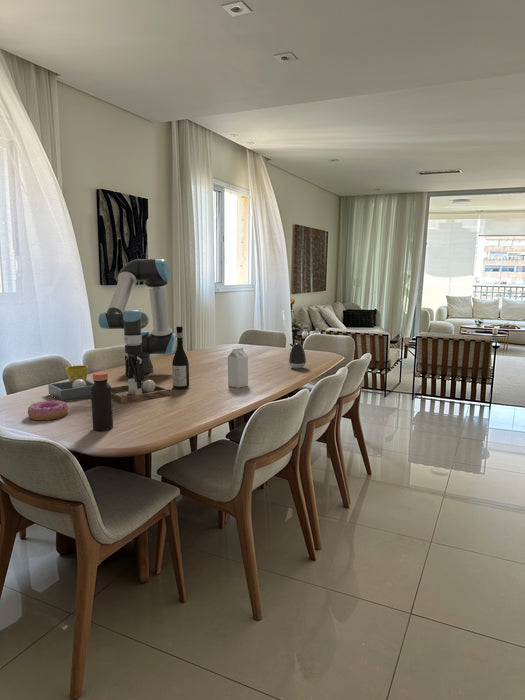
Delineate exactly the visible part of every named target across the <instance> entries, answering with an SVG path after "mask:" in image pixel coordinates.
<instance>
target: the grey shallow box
mask: <svg viewBox="0 0 525 700" xmlns="http://www.w3.org/2000/svg"><path fill="white" fill-rule="evenodd" d="M82 380H84V381H85V383H86V387H79V388H73V387H72V384H73V382H74V381H69V380H68V381H62V382H60V381H59V382H53V383H48V384H47V385H48V386H47V387H48V395H49V394H50V395H51V397H52V396H53V397H52V398H54V397H55V398H54V399H56V400H57V399H58V400H57V401H63V402H69V401H75V400H81V399H82V398H83V399H88V397H89V398H91V387H92V386H93V385H94V381H91V380H89V379H87V378H86V379H82ZM50 395H49V396H50Z"/></svg>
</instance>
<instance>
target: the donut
mask: <svg viewBox="0 0 525 700" xmlns="http://www.w3.org/2000/svg"><path fill="white" fill-rule="evenodd" d="M68 412H69V406H68V404H67V402H66V401H64V402H63V401H59V400H57V399H56V400H52V399H51V400H44V401H39V402H35V403H32V404H30V405H29V406H28V408H27V415H28V418H29V419H30V420H34V421H41V422H42V421H51V420H52V421H53V420H57V419H61V418H63V417H65V416H67V415H68Z"/></svg>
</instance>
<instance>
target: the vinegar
mask: <svg viewBox="0 0 525 700" xmlns="http://www.w3.org/2000/svg"><path fill="white" fill-rule="evenodd" d="M108 379H109V375H108V372H105V371H98V372H94V373H92V380H93V382H94V385H93V386H92V387H91V397H90V399H91V414H92V416H91V417H92V429H93V430H94V431H95V432H105V431H109V430H112V429H113V427H114V417H113V415H114V414H113V400H112V395H111V387H112V386H111V385H110V384H109V383H108V381H109V380H108Z"/></svg>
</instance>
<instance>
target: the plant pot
mask: <svg viewBox="0 0 525 700" xmlns="http://www.w3.org/2000/svg"><path fill="white" fill-rule="evenodd" d="M88 373H89V366H88V365H83V364H81V365H69V366H67V367H65V375H66V376H67V377H68V381H75V380H77V379H86V380H87V377H88Z"/></svg>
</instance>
